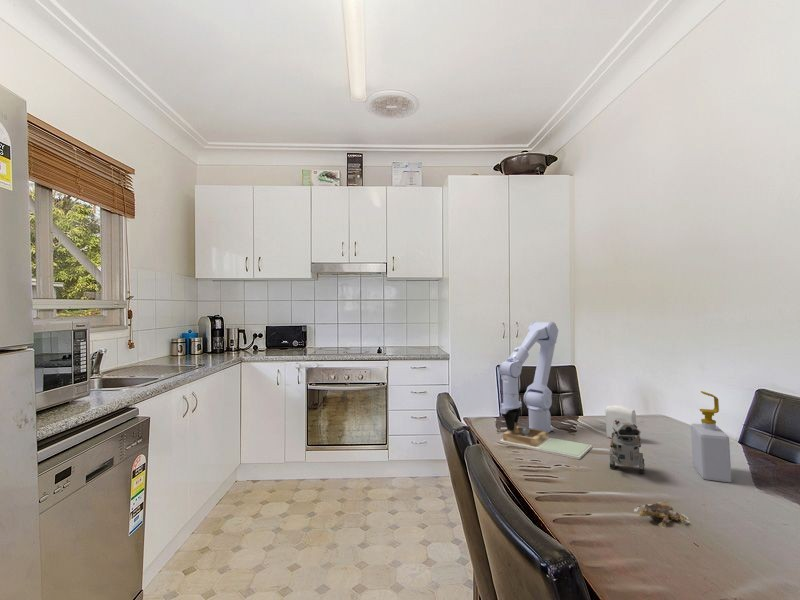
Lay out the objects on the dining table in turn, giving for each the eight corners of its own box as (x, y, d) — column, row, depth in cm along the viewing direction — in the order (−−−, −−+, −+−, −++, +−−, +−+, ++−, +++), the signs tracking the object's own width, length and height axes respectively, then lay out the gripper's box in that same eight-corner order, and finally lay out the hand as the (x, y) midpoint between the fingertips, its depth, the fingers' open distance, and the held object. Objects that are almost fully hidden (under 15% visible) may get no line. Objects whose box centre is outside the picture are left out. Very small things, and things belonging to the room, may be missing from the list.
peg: (523, 437, 149) (523, 426, 149) (531, 439, 147) (530, 428, 147) (520, 439, 147) (519, 428, 147) (527, 441, 145) (527, 430, 145)
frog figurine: (672, 539, 84) (671, 520, 84) (621, 513, 95) (620, 496, 95) (706, 526, 88) (705, 509, 88) (653, 503, 99) (653, 487, 99)
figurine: (608, 476, 115) (606, 423, 115) (610, 462, 125) (608, 414, 125) (645, 482, 110) (643, 427, 111) (644, 468, 120) (642, 417, 120)
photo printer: (604, 437, 149) (603, 404, 150) (609, 435, 152) (608, 402, 153) (634, 444, 141) (632, 408, 142) (639, 441, 144) (637, 406, 145)
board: (515, 433, 157) (515, 431, 157) (591, 447, 139) (591, 445, 139) (499, 442, 146) (499, 440, 146) (579, 459, 128) (579, 456, 128)
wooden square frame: (515, 432, 156) (514, 418, 156) (547, 438, 148) (547, 423, 148) (501, 439, 147) (500, 424, 147) (535, 446, 139) (534, 430, 139)
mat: (552, 438, 147) (552, 438, 147) (589, 445, 139) (589, 444, 139) (538, 448, 137) (538, 447, 137) (578, 456, 129) (578, 455, 129)
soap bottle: (692, 464, 122) (688, 387, 123) (719, 467, 119) (715, 388, 120) (702, 479, 111) (698, 395, 112) (732, 483, 108) (727, 397, 109)
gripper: (509, 388, 159) (510, 423, 159) (492, 395, 148) (493, 431, 148) (526, 390, 155) (527, 426, 154) (509, 397, 144) (511, 435, 143)
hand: (511, 429), depth 151 cm, fingers closed on wooden square frame
